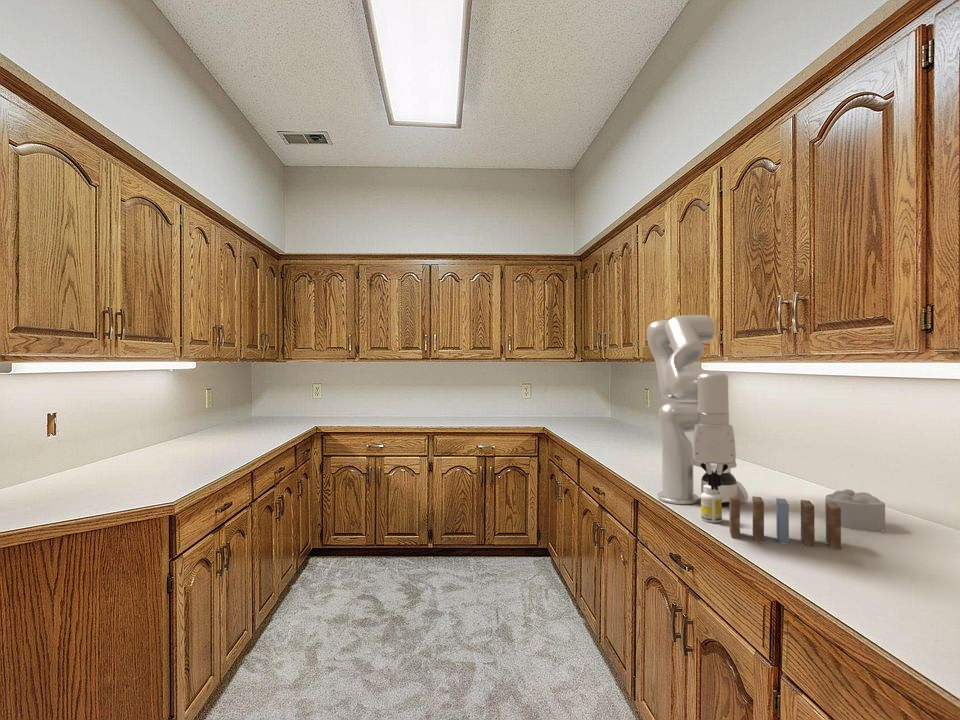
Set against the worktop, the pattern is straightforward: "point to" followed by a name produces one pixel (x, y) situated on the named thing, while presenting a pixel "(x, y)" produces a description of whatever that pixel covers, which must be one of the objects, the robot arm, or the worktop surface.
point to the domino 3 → (807, 523)
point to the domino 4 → (833, 525)
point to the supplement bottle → (711, 505)
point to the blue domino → (782, 520)
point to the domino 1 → (734, 516)
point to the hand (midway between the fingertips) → (714, 488)
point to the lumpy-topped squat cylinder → (859, 510)
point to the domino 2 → (758, 518)
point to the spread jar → (727, 486)
